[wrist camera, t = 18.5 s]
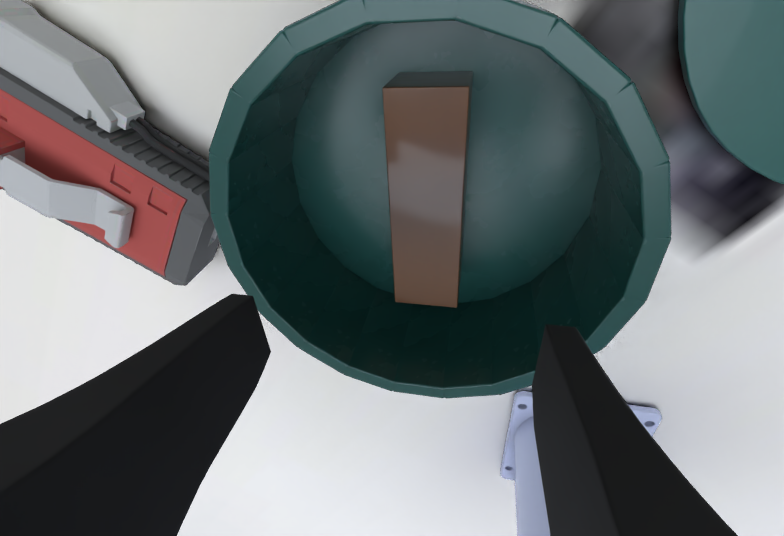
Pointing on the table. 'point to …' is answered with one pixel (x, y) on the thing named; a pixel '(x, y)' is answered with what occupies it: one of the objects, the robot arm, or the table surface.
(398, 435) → the table surface
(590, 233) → the tin
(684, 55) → the tin lid
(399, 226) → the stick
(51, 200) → the walkie-talkie
